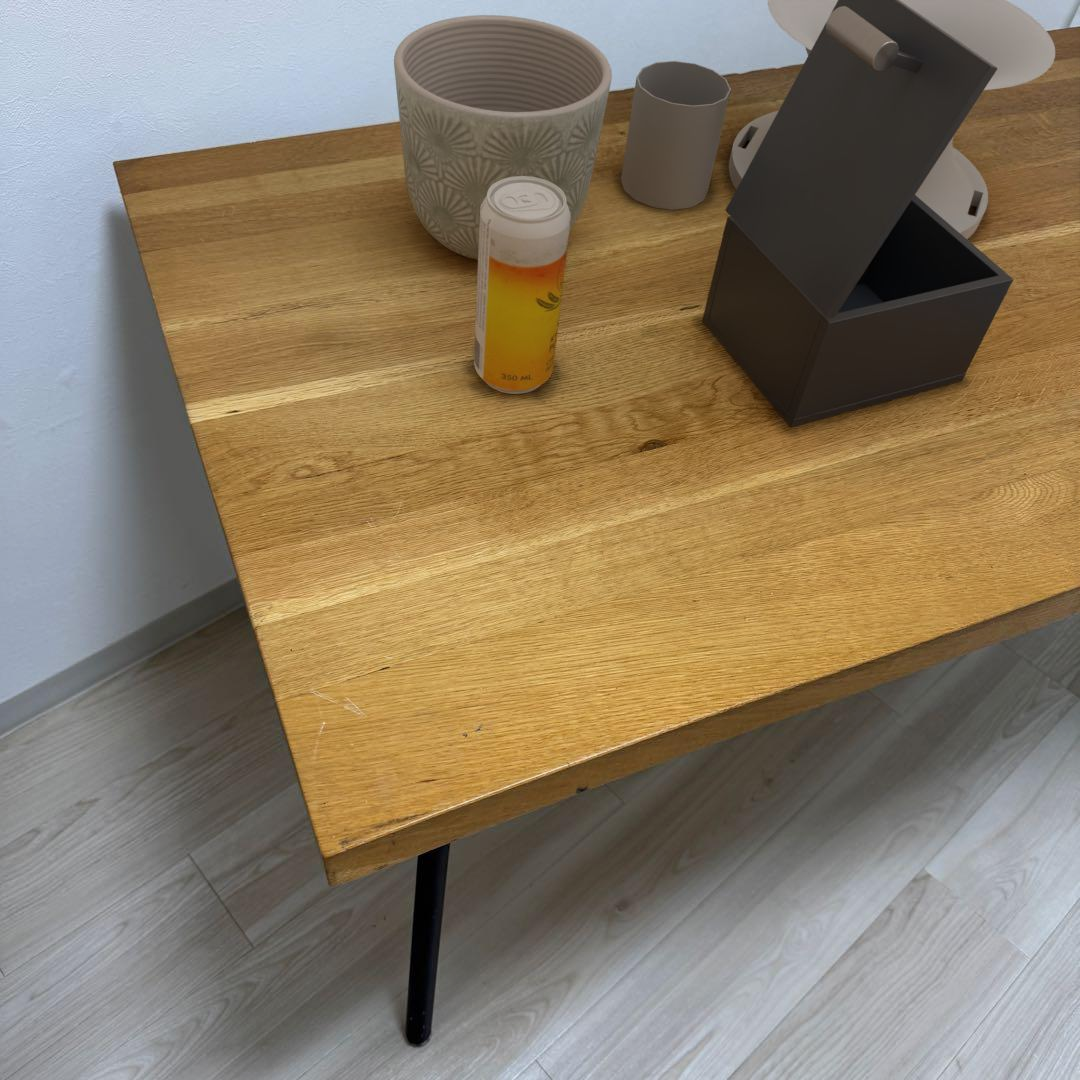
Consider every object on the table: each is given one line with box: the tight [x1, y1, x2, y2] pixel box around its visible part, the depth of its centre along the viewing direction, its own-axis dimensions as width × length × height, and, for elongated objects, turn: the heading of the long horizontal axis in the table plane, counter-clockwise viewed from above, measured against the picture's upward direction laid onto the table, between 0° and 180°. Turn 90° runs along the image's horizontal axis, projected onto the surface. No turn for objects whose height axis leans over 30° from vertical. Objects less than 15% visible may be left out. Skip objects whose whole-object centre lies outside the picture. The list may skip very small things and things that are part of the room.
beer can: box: [473, 176, 571, 395], centre depth 73 cm, size 6×6×15 cm
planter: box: [393, 14, 613, 261], centre depth 85 cm, size 17×17×15 cm
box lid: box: [725, 0, 997, 318], centre depth 67 cm, size 17×14×5 cm
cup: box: [620, 60, 732, 211], centre depth 95 cm, size 8×8×10 cm
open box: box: [701, 195, 1014, 428], centre depth 80 cm, size 17×14×10 cm
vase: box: [728, 0, 1056, 240], centre depth 96 cm, size 25×25×16 cm
